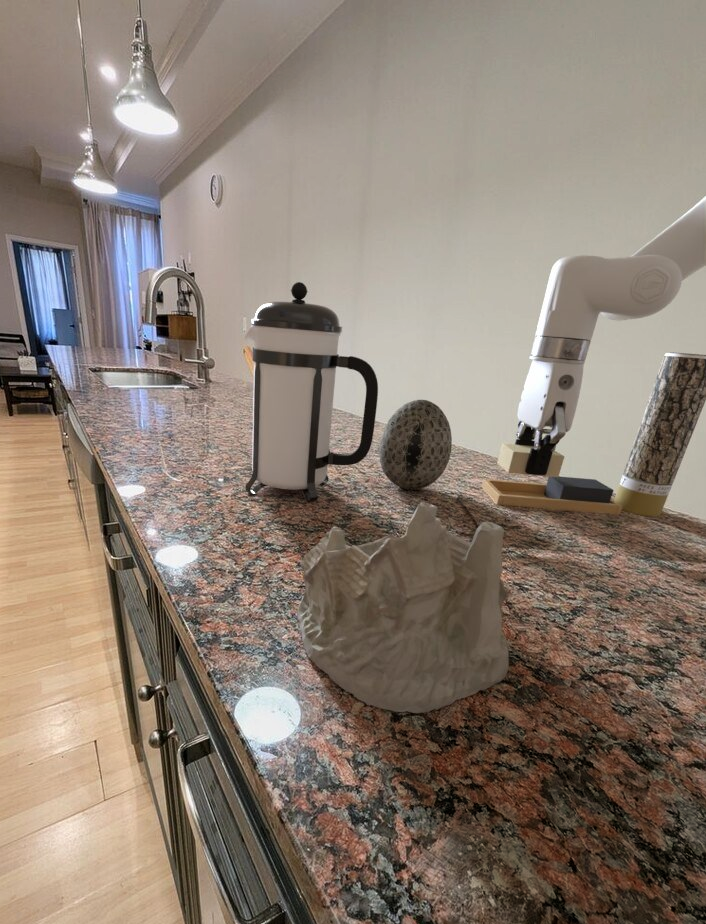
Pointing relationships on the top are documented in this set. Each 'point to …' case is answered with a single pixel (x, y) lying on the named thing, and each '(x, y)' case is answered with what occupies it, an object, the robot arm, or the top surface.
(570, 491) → the charcoal pad
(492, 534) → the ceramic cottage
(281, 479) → the coffee press
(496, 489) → the tray
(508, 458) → the beige pad
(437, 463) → the decorative egg
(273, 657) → the top surface
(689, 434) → the paper tube
